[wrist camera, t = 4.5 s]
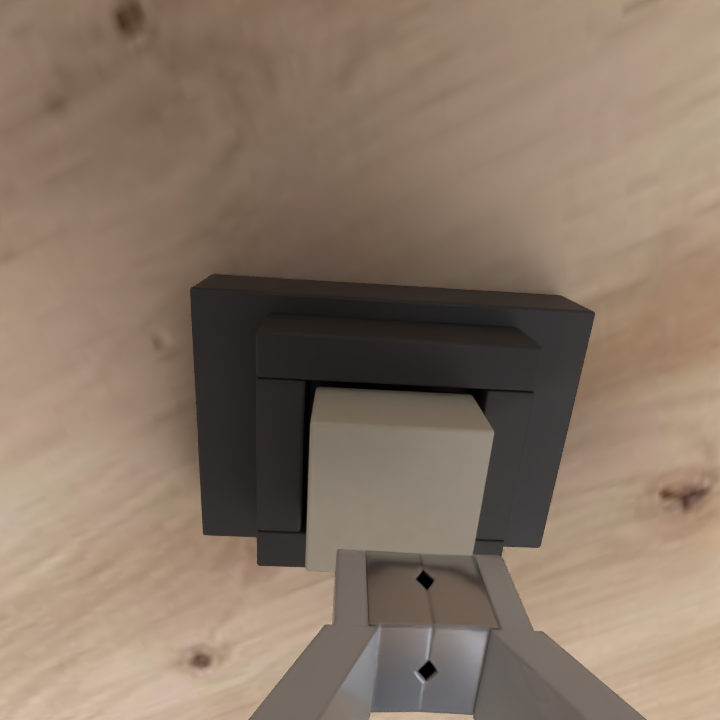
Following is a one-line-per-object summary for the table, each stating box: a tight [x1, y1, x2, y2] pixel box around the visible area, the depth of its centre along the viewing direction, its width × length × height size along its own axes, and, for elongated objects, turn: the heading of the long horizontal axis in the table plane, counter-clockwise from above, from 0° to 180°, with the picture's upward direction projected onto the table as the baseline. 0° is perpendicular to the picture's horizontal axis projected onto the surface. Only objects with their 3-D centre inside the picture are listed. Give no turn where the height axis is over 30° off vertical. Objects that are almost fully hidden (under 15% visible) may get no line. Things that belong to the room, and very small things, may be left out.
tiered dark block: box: [190, 274, 595, 567], centre depth 14 cm, size 11×8×4 cm
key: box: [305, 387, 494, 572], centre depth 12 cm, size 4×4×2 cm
